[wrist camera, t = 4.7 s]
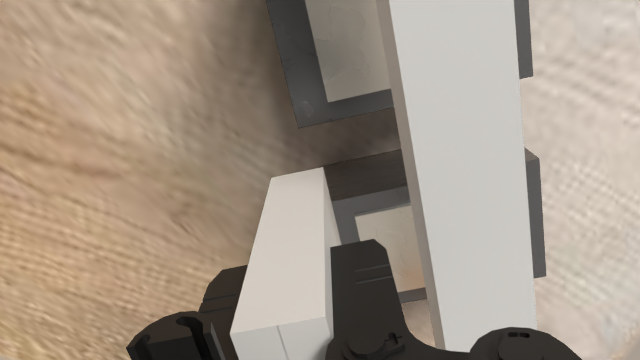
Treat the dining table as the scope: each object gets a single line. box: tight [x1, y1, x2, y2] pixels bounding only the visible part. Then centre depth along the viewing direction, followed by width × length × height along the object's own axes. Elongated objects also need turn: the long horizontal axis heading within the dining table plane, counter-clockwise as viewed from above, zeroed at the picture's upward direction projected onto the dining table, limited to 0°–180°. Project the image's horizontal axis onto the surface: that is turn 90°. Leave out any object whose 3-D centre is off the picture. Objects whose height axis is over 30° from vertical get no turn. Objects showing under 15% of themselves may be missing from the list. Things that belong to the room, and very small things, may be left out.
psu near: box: [266, 0, 533, 129], centre depth 17 cm, size 5×8×4 cm, turn 103°
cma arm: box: [376, 0, 537, 352], centre depth 11 cm, size 20×3×3 cm, turn 13°
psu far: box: [319, 147, 546, 303], centre depth 20 cm, size 5×8×4 cm, turn 103°
